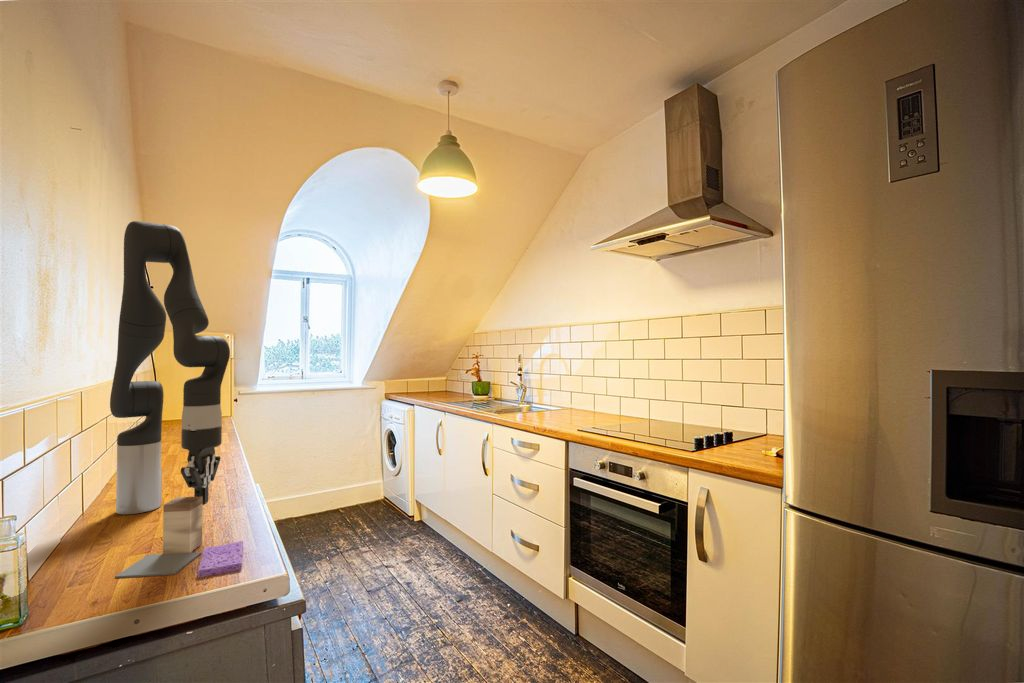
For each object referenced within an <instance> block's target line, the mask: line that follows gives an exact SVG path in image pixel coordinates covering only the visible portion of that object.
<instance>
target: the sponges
mask: <svg viewBox="0 0 1024 683" xmlns="http://www.w3.org/2000/svg"><path fill="white" fill-rule="evenodd" d="M243 552H244V541H243V540H240V541H235V542H231V543H227V544H221V545H216V546H209V547H204V548H203V551H202V556H201V561H200V563H199V566H198V569H197V570H198V571H197V579H198V578H199V577H200V578H205V577H204V576H206V577H211V576H215V575H220V574H226V573H231V572H236V570H237V571H241V570H242V569H243V556H244V554H243ZM200 578H199V579H200Z"/></svg>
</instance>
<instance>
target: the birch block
mask: <svg viewBox="0 0 1024 683" xmlns="http://www.w3.org/2000/svg"><path fill="white" fill-rule="evenodd" d="M162 505H163V509H162V510H163V518H162V519H163V520H162V521H163V522H162V529H163V530H162V554H174V553H193V552H194V551H195V550H196V549H198V548H199V547H200V546H201V544H202V545H203V510H204V508H203V507H204V505H203V496H200V497H194V496H181V497H178V496H177V497H175V498H173V499H171V500H169V501H168V502H166V503H164V504H162ZM197 547H198V548H197ZM194 549H195V550H194ZM193 550H194V551H193Z"/></svg>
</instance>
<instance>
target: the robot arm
mask: <svg viewBox="0 0 1024 683" xmlns="http://www.w3.org/2000/svg"><path fill="white" fill-rule="evenodd" d="M186 244H187V243H186V240H185V237H184V236H183V233H182V231H181V230H180V228H178V227H176V226H174V225H171V224H165V223H164V224H163V223H155V222H147V221H146V222H145V221H137V220H135V221H134V220H133V221H130V222H129V223H128V224H127V225H126V227H125V231H124V235H123V287H122V294H121V295H122V296H121V297H122V298H121V303H120V312H119V322H118V334H117V351H116V361H115V367H114V368H115V370H114V374H113V380H112V386H111V392H110V397H109V398H110V399H109V408H110V412H111V415H112V417H115V418H119V419H125V418H126V419H128V418H139V417H145V418H144V420H143V421H142V422H141V423H140V424H138V425H136V426H134V427H132V428H129V429H127V430H124V431H122V432H120V433H118V435H117V438H116V487H115V489H116V492H115V493H116V494H115V495H116V496H115V501H116V502H115V513H116V514H118V515H135V514H140V513H145V512H146V513H147V512H151V511H153V510H156V509H158V508H160V507H161V504H162V495H163V494H162V492H163V491H162V490H163V489H162V486H163V485H162V484H163V481H162V480H163V478H162V477H163V468H162V428H163V408H164V399H165V398H164V397H165V396H164V388H163V385H162V383H161V382H160V381H157V380H146V381H145V380H143V381H140V380H139V381H132V379H133V377H134V375H135V373H136V371H137V370H138V369H139V367H140V366H141V365H142V363H144V361H145V360H146V359H147V358H149V357H150V355H152V354H153V353H154V351H156V349H157V348H158V347H159V346H160V345H161V343H163V340H164V337H165V331H166V324H167V316H168V318H169V321H170V324H171V327H172V336H173V337H172V338H173V339H172V340H173V356H174V358H175V361H176V362H177V363H178V364H179V365H180V366H182V367H186V368H204V369H203V371H202V372H201V374H200V375H199V376H197V377H194V378H189V379H186V381H184V383H183V389H182V391H183V392H182V393H183V395H182V396H183V402H182V405H183V406H182V407H183V408H182V414H181V443H180V444H181V448H182V449H183V450H187V451H188V455H187V464H186V466H183V467H181V469H180V473H181V475H182V479H184V482H185V484H186V485H187V487H188V488H190V489H191V488H192V489H194V493H193V494H194V496H193V497H200V496H203V506H204V505H206V504H208V502H209V486H210V485H211V482H213V481H215V477H216V474H217V471H218V469H219V465H220V462H221V456H220V455H216V449H215V448H217V447H219V446H221V445H222V441H223V440H222V436H223V434H222V433H223V432H222V429H223V428H222V426H223V425H222V424H223V423H222V422H223V421H222V420H223V416H222V414H223V413H222V406H221V399H222V398H221V396H222V393H221V392H222V391H221V389H222V382H223V379H224V377H225V373H226V369H227V368H228V363H229V361H230V356H231V351H230V345H229V343H228V342H227V340H226V339H225V338H223V337H221V336H218V335H197V334H199V333H203V331H205V330H207V328H208V327H209V321H210V320H209V318H208V315H207V313H206V311H205V310H206V309H204V305H203V303H202V301H201V298H200V297H199V294H198V291H197V288H196V283H195V279H194V275H193V270H192V265H191V261H190V257H189V251H188V248H187V245H186ZM146 263H157V264H158V263H161V264H169V265H170V266H171V268H172V275H171V279H170V280H169V283H168V284H167V287H166V289H165V292H164V295H163V303H164V304H162V302H161V301H160V299H159V298H158V296H157V295H156V293H155V292H154V290H153V289H152V288H151V286H150V284H149V282H148V280H147V275H146Z"/></svg>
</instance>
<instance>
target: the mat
mask: <svg viewBox="0 0 1024 683" xmlns="http://www.w3.org/2000/svg"><path fill="white" fill-rule="evenodd" d="M200 555H203V551H201V552H200V551H199V552H198V551H197V552H194V551H192V552H191V553H174V554H163V553H161V554H160V553H159V554H158V553H157V554H156V553H155V554H147V555H146V556H144V557H142V558H141V559H139V560H138V561H136V562H134V563H133V564H131V565H130V566H129V567H126V568H125V569H124V570H123V571H121V572H120V573H118V574H116V575H115V576H114V578H115V579H119V578H123V579H125V578H136V577H137V578H138V577H154V576H156V577H157V576H173V575H177V574H178V573H179V572H181V570H183V569H184V568H185V567H187V566H188V565H189V564H191V563H192V562H193V561H194V560H195V559H196V558H198V557H199V556H200ZM191 561H192V562H191Z"/></svg>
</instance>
